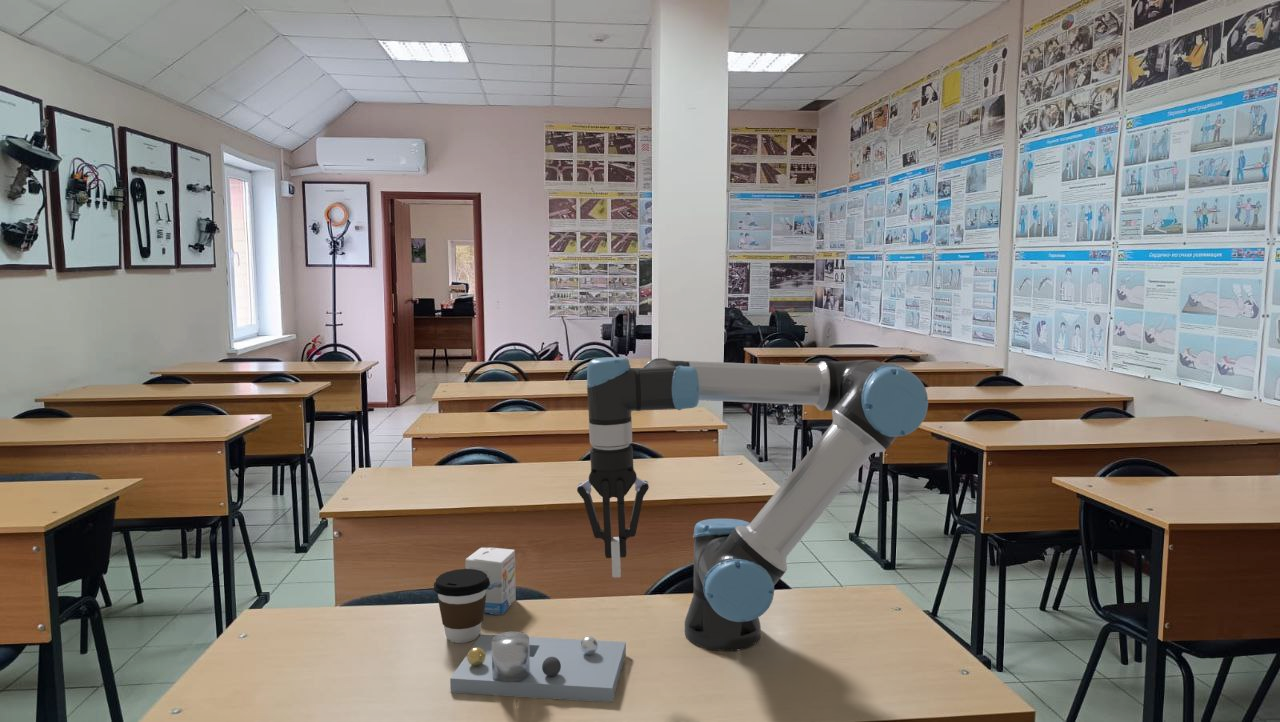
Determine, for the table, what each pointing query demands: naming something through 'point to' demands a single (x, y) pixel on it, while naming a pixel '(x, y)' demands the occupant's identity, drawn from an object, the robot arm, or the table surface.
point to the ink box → (496, 576)
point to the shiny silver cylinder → (510, 656)
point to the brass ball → (476, 656)
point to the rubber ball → (551, 666)
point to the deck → (573, 681)
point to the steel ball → (589, 645)
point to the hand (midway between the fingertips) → (616, 574)
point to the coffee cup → (462, 603)
